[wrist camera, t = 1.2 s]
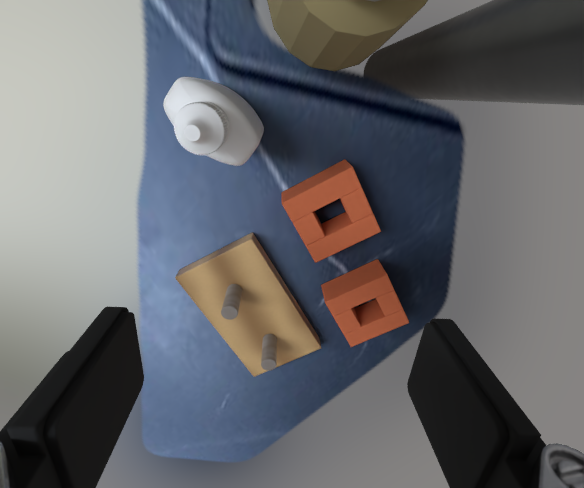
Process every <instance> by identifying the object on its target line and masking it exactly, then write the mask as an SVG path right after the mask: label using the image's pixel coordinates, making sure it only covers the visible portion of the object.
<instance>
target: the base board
mask: <svg viewBox="0 0 584 488" xmlns="http://www.w3.org/2000/svg"><path fill="white" fill-rule="evenodd" d="M175 278H176V280H177V281H178V282H179V283H180V285H181V286H182V287H183V288H184V290H185V291H186V292H187V294H188V295H189V296H190V297H191V299H192V300H193V301H194V302H195V304H196V305H197V306H198V307H199V309H200V310H201V311H202V312H203V314H204V315H205V316H206V317H207V319H208V320H209V321H210V322H211V324H212V325H213V326H214V327H215V329H216V330H217V331H218V332H219V334H220V335H221V336H222V337H223V339H224V340H225V341H226V342H227V344H228V345H229V346H230V347H231V349H232V350H233V351H234V352H235V354H236V355H237V356H238V357H239V359H240V360H241V361H242V362H243V364H244V365H245V366H246V367H247V369H248V370H249V371H250V372H251V374H252V375H253V376H254V377H255V376H257V375H259V374H262V373H264V372H266V371H270V370H273V369H275V368H276V367H278V366H280V365H283V364H285V363H287V362H290V361H292V360H295V359H297V358H299V357H302V356H304V355H306V354H309V353H311V352H313V351H316V350H318V349H320V348H321V344H320V338H319V337H318V335H317V333H316V332H315V330H314V329H313V327H312V326H311V324H310V322H309V321H308V319H307V318H306V316H305V314H304V313H303V311H302V310H301V308H300V307H299V305H298V303H297V302H296V300H295V299H294V297H293V295H292V294H291V292H290V291H289V289H288V287H287V286H286V284H285V283H284V281H283V280H282V278H281V276H280V275H279V273H278V272H277V270H276V268H275V267H274V265H273V264H272V262H271V261H270V259H269V257H268V256H267V254H266V253H265V251H264V249H263V248H262V246H261V245H260V243H259V241H258V240H257V238H256V237H255V235H254V234H253V233H250V234H248V235H247V236H245V237H243V238H241V239H239V240H237V241H235V242H233V243H231V244H229V245H227V246H225V247H223V248H221V249H219V250H217V251H215V252H213V253H211V254H209V255H207V256H205V257H203V258H201V259H199V260H198V261H196V262H194V263H192V264H190V265H188V266H186V267H184V268H182V269H180V270H179V271H178V273H177V275H176V277H175Z"/></svg>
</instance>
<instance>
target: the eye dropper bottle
mask: <svg viewBox="0 0 584 488" xmlns="http://www.w3.org/2000/svg"><path fill="white" fill-rule="evenodd" d="M163 105H164V110H165V112H166V114H167V116H168V118H169V119H170V121H171V122H172V124H173V125H174V127H175V128H174V130H175V131H174V132H175V135H176V138H177V140H179V143H180V145H182V147H184V149H186V150H188V151H189V152H191V153H193V154H196V155H197V154H198V155H201V156H202V155H207V156H208V157H210V158H213V159H215V160H217V161H220V162H223V163H226V164H230V165H235V166H239V165H242V164H244V163H245V162H246V161H247V160H248V159H249V158H250V156H251V155H252V154H253V152H254V151H255V150H256V148H257V147H258V145H259V143H260V140H261V138H262V135H263V132H264V126H263V124H262V122H261V120H260V118H259V117H258V115H257V114H256V112H255V111H254V109H253V108H252V107H251V106H250V105H249V104H248V103H247V102H246V101H245V100H244V99H243V98H242V97H241V96H240V95H238V94H237V93H236V92H234V91H233V90H231V89H229V88H228V87H226V86H224V85H221V84H219V83H216V82H213V81H209V80H205V79H199V78H193V77H181V78H179V79H178V80H176V81H175V83H174V84H173V86H172V87H171V89H170V90H169V92H168V94H167V96H166V97H165V99H164V104H163Z"/></svg>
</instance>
